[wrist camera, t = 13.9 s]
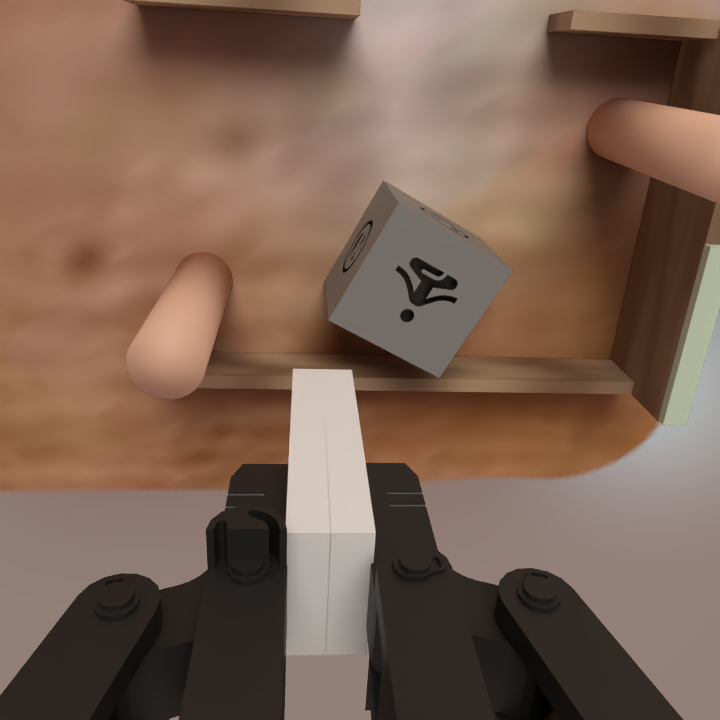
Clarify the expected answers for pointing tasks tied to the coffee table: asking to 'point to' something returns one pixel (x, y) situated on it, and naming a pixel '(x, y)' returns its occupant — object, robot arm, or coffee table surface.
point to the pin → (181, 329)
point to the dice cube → (412, 281)
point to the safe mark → (693, 339)
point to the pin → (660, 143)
